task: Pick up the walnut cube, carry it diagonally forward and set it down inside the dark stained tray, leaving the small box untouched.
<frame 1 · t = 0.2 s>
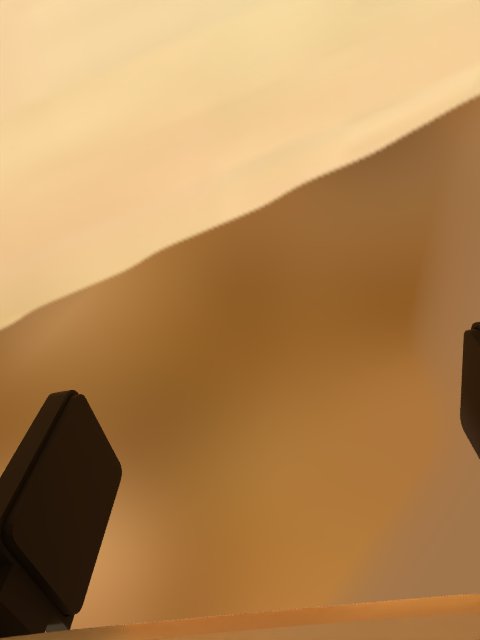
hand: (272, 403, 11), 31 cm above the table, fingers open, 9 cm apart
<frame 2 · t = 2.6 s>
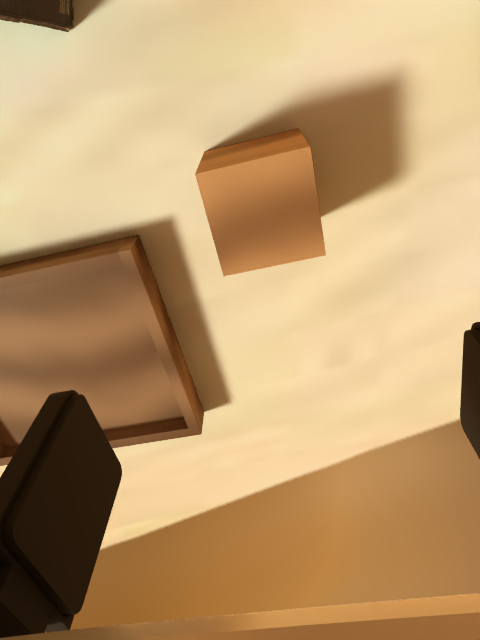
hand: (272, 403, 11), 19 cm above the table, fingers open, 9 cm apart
walnut tray: (64, 355, 33), on the table
walnut cube: (260, 187, 27), on the table
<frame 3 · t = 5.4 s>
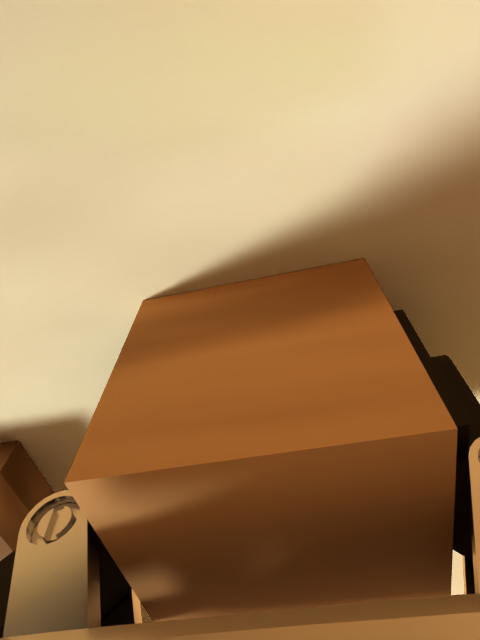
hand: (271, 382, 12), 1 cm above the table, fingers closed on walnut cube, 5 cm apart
walnut cube: (270, 368, 12), on the table, touching gripper
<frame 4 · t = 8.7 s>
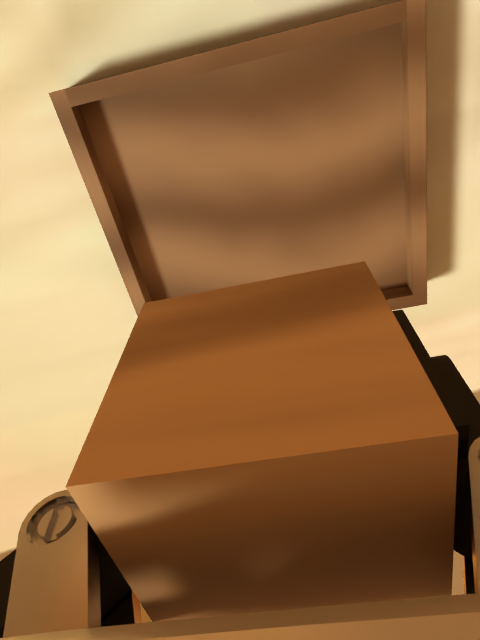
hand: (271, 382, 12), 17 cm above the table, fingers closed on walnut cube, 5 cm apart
walnut tray: (259, 198, 26), on the table
walnut cube: (271, 370, 12), point 16 cm above the table, touching gripper
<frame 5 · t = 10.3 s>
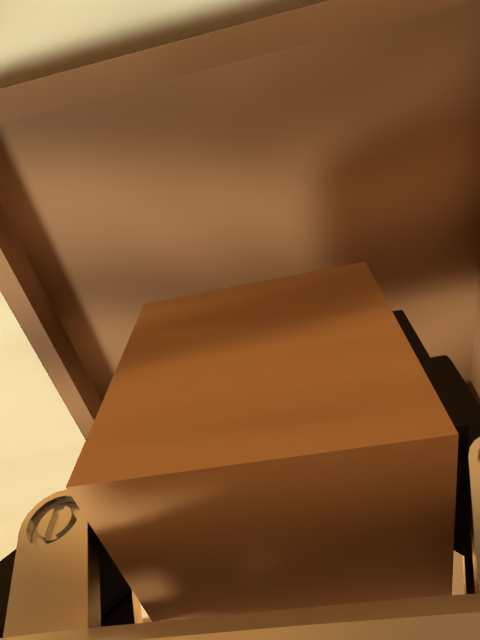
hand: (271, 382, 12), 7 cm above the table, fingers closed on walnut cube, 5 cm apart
walnut tray: (256, 264, 18), on the table
walnut cube: (271, 370, 12), point 6 cm above the table, touching gripper
when the fingers open (4 cm above the table, at t = 11.9 s): walnut cube drops 2 cm, resting on walnut tray.
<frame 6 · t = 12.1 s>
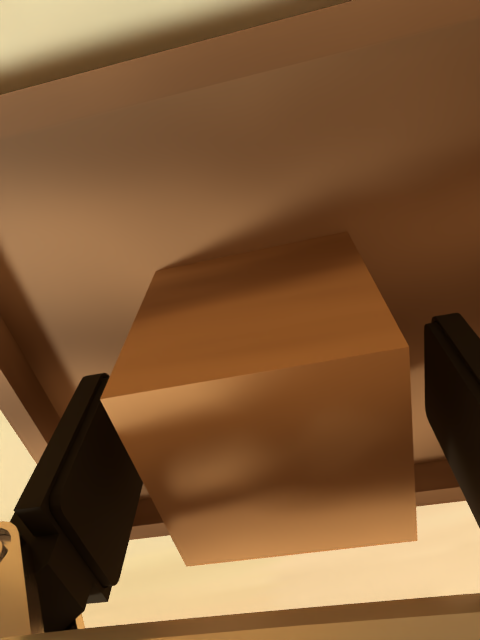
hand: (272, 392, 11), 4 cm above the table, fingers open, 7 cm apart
walnut tray: (267, 311, 15), on the table
walnut cube: (267, 332, 14), point 1 cm above the table, touching walnut tray
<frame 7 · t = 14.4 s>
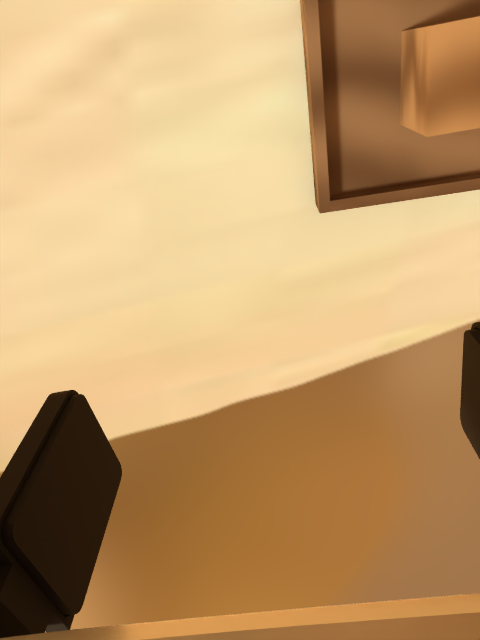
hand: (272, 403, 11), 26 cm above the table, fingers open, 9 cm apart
walnut tray: (437, 71, 30), on the table
walnut cube: (443, 72, 29), point 1 cm above the table, touching walnut tray
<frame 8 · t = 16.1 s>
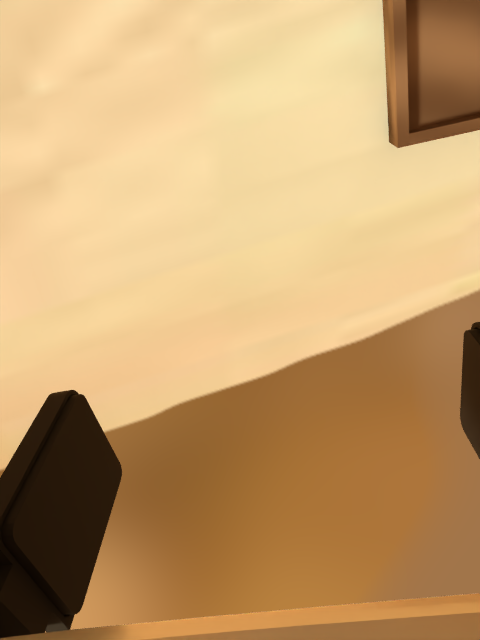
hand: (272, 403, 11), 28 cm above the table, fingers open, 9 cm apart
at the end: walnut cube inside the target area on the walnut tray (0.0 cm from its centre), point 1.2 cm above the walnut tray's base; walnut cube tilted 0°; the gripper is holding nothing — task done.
